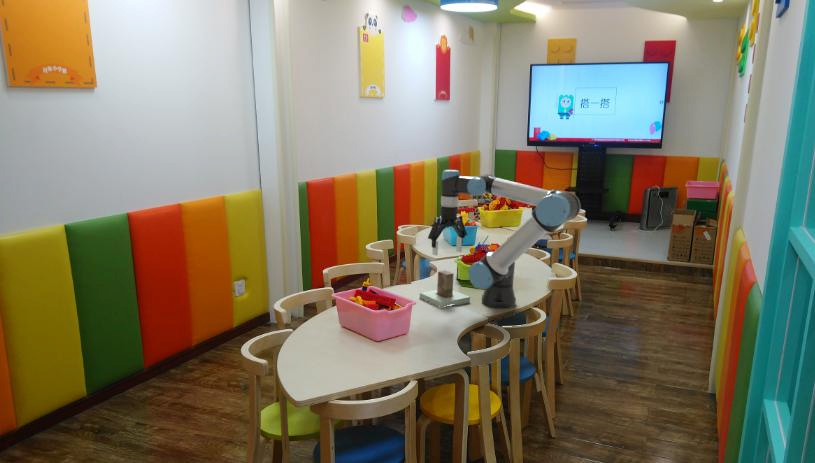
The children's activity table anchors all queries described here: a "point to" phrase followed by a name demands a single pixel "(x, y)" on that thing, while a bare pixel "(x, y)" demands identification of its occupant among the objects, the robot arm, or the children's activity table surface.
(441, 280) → the walnut peg
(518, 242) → the robot arm
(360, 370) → the children's activity table surface
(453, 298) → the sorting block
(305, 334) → the children's activity table surface
